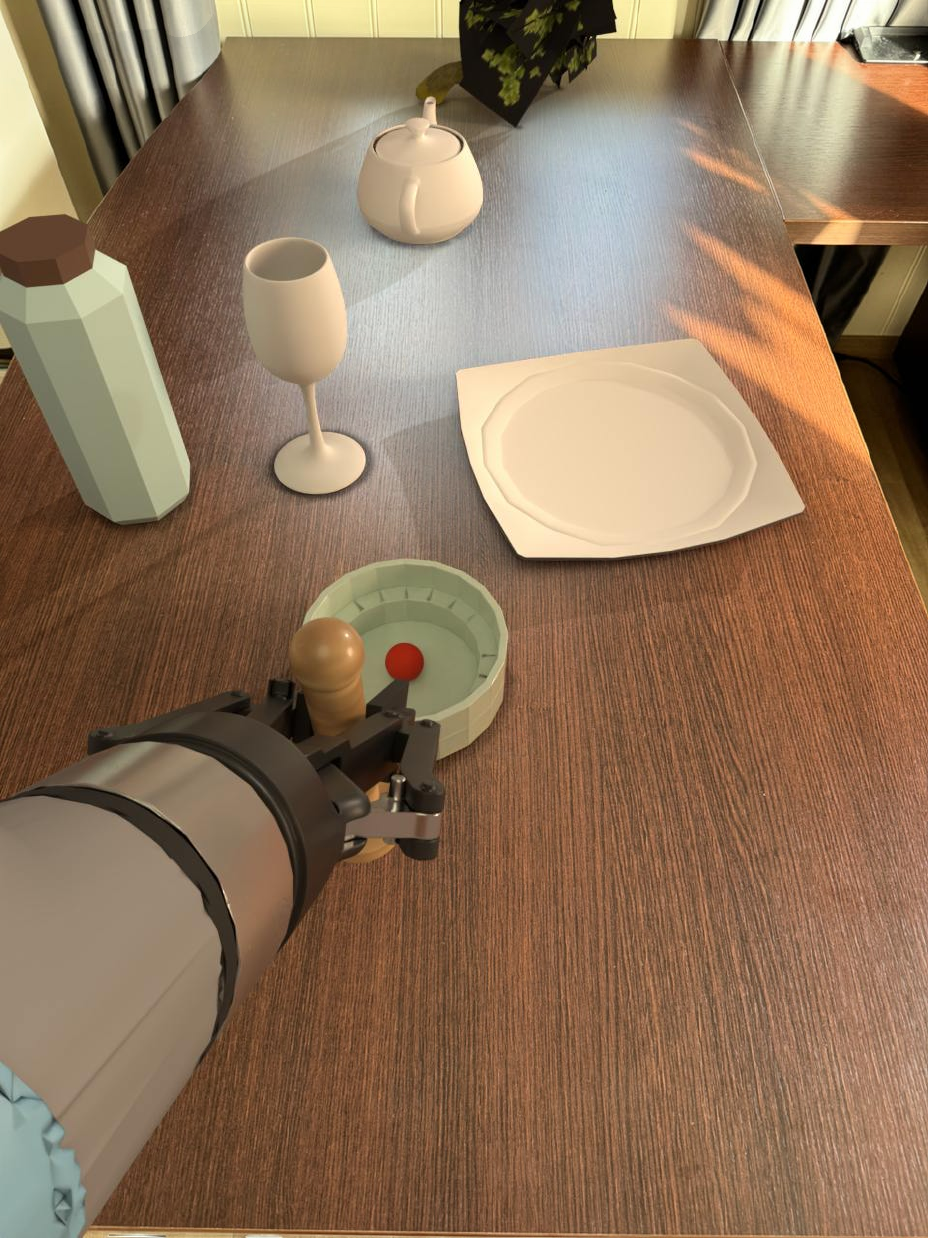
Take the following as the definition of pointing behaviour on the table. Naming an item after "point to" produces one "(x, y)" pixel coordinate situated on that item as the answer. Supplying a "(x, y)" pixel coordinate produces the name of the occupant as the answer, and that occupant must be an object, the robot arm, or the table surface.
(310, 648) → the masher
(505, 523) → the plate
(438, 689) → the bowl
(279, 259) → the wineglass
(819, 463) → the table surface
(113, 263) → the water bottle
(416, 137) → the teapot
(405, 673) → the tomato
